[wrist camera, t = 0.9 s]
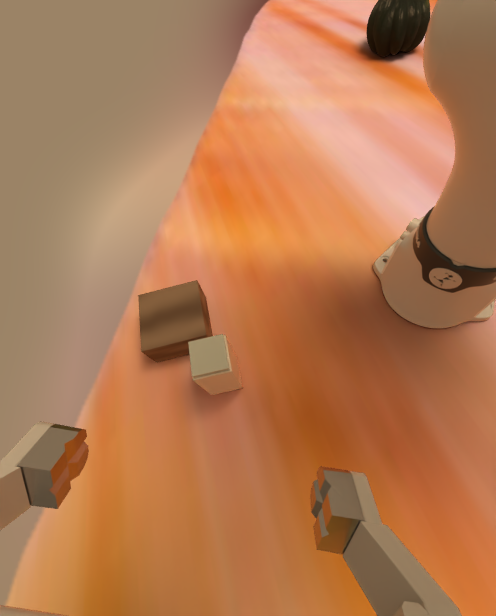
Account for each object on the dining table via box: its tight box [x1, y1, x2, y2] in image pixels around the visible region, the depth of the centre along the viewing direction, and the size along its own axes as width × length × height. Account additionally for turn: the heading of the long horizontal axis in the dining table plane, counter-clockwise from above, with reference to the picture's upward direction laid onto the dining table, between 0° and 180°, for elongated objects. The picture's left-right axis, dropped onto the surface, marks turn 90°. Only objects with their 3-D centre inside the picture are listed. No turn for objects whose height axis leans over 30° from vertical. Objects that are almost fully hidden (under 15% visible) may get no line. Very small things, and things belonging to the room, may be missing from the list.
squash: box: [367, 0, 430, 57], centre depth 78 cm, size 14×15×15 cm
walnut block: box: [138, 280, 213, 362], centre depth 49 cm, size 10×10×6 cm
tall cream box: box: [188, 334, 243, 395], centre depth 42 cm, size 5×5×11 cm
